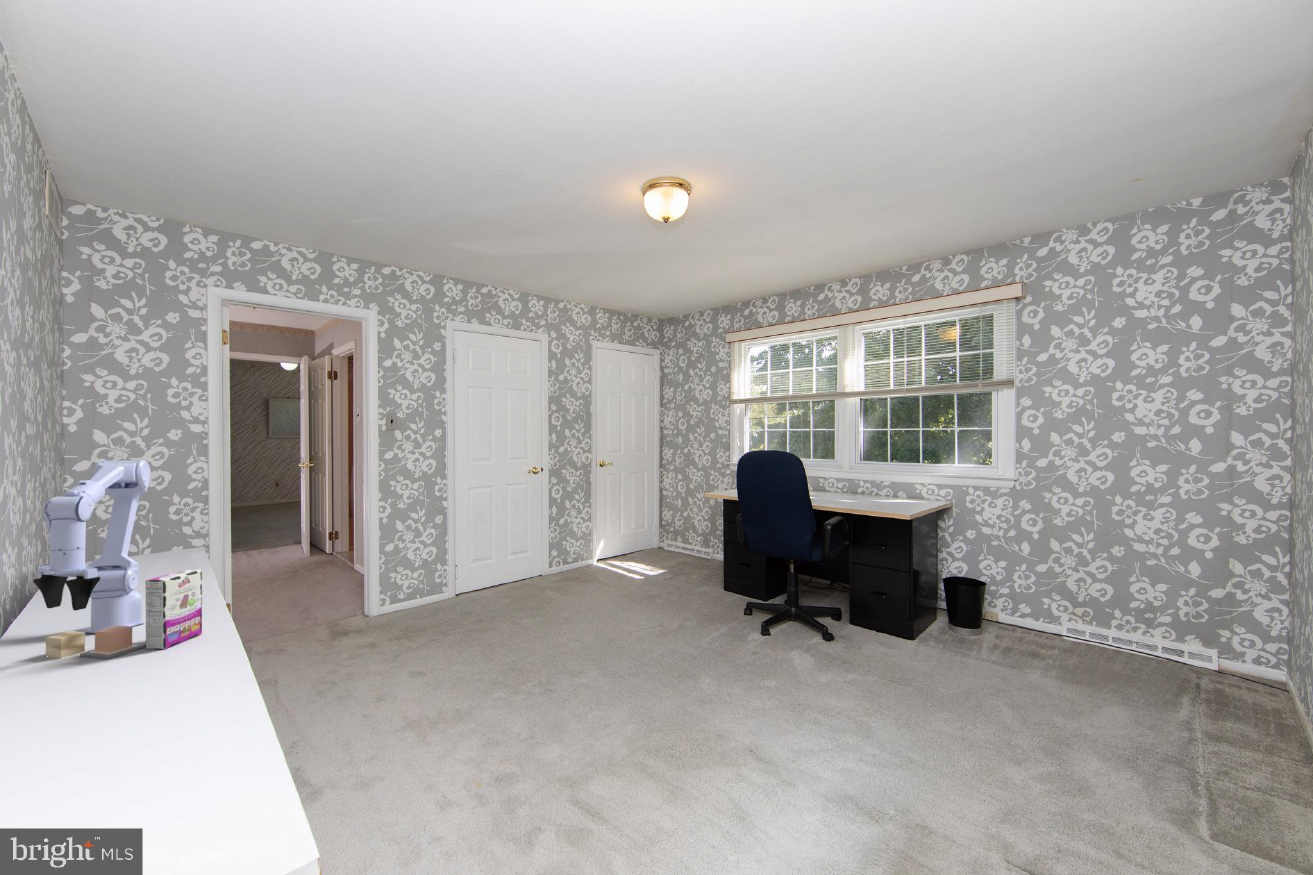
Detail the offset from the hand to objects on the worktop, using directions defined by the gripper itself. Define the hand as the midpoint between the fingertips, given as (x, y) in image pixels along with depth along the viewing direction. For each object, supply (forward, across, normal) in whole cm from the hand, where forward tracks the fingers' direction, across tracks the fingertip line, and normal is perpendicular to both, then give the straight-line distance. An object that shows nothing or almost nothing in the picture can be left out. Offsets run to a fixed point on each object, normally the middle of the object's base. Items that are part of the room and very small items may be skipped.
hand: (66, 608), depth 131 cm
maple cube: (+10, 0, 0) cm, 11 cm away
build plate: (+10, +9, +3) cm, 14 cm away
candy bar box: (+11, +16, +12) cm, 22 cm away
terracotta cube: (+10, +9, +3) cm, 14 cm away
